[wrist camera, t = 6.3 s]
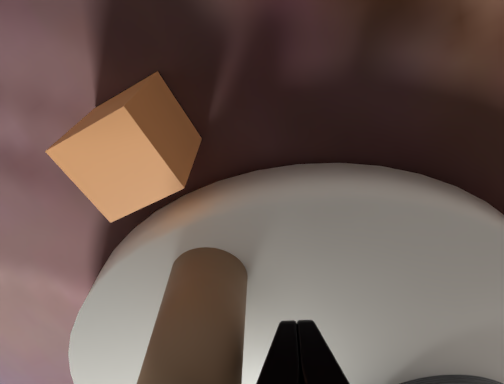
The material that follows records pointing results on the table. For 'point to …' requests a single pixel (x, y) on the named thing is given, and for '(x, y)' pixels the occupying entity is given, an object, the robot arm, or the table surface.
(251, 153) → the table surface
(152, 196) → the pointer block
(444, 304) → the turntable
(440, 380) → the cover
